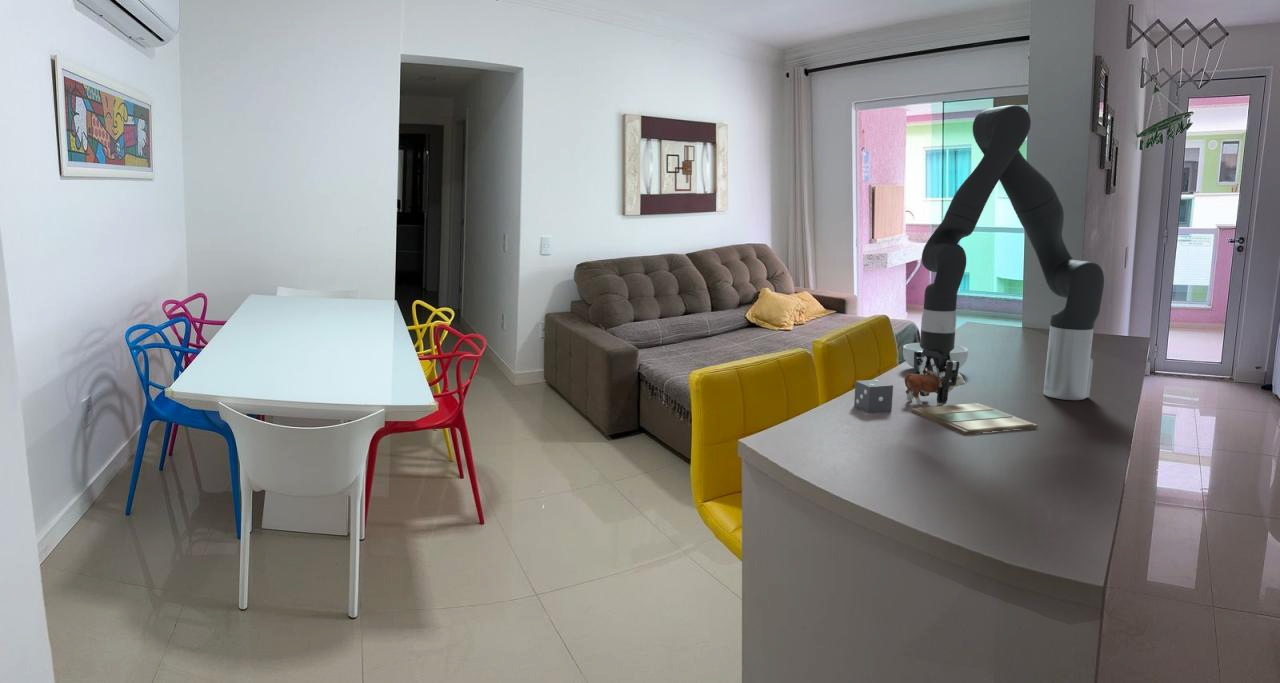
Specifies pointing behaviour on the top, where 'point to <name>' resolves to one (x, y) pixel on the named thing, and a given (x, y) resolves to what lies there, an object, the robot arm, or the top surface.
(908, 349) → the cereal bowl
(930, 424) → the top surface
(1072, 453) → the top surface
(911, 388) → the bull figurine
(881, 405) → the die
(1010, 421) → the paneled room divider
